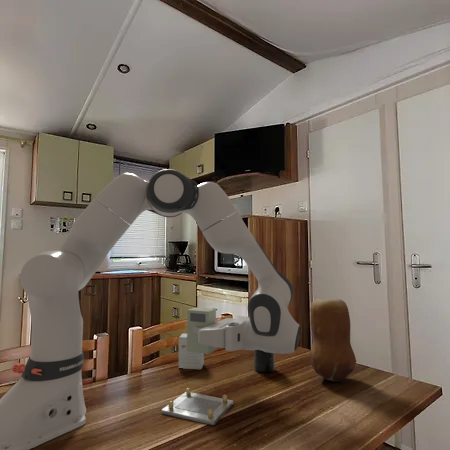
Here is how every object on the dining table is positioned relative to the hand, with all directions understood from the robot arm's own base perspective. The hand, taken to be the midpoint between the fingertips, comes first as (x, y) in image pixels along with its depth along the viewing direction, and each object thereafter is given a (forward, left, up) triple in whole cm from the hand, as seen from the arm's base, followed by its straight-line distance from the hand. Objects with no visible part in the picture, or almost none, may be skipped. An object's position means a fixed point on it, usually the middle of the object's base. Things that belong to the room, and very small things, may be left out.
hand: (198, 327), depth 99 cm
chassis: (-13, -7, -17) cm, 22 cm away
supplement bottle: (+21, -14, -17) cm, 30 cm away
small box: (+14, +10, -17) cm, 24 cm away
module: (0, -1, -7) cm, 7 cm away
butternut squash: (+21, -36, -17) cm, 45 cm away
